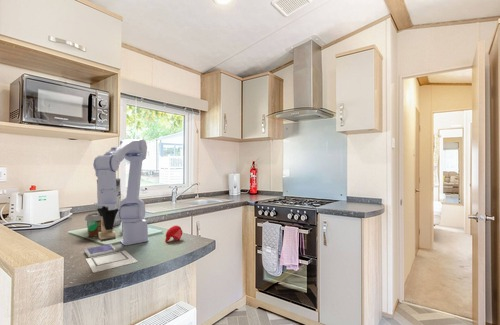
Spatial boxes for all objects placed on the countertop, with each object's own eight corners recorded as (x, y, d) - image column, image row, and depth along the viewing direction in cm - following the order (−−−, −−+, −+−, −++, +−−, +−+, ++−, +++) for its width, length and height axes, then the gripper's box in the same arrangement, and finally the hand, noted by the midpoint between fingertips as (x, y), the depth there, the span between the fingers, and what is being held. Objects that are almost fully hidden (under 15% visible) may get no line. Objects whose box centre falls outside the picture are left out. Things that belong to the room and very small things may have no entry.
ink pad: (111, 247, 109) (111, 243, 109) (116, 252, 102) (116, 248, 102) (84, 252, 103) (84, 248, 103) (88, 258, 96) (88, 254, 96)
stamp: (112, 236, 98) (112, 214, 98) (115, 239, 94) (115, 216, 94) (98, 239, 95) (98, 216, 95) (101, 241, 92) (100, 217, 92)
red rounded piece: (178, 229, 122) (166, 224, 119) (185, 226, 118) (173, 221, 115) (172, 247, 117) (160, 242, 114) (180, 244, 113) (167, 239, 110)
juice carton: (112, 227, 144) (111, 176, 144) (95, 227, 146) (94, 177, 147) (123, 223, 153) (122, 175, 153) (107, 223, 155) (106, 176, 155)
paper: (125, 251, 103) (125, 250, 103) (137, 262, 91) (137, 261, 91) (85, 259, 95) (85, 258, 95) (93, 272, 83) (93, 271, 83)
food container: (83, 235, 130) (82, 214, 130) (97, 232, 134) (97, 212, 134) (88, 240, 120) (87, 217, 121) (103, 237, 124) (103, 215, 125)
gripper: (90, 189, 98) (91, 227, 98) (97, 191, 87) (98, 234, 87) (112, 187, 103) (113, 224, 103) (121, 190, 91) (122, 230, 91)
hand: (108, 228), depth 95 cm, fingers closed on stamp, 3 cm apart
